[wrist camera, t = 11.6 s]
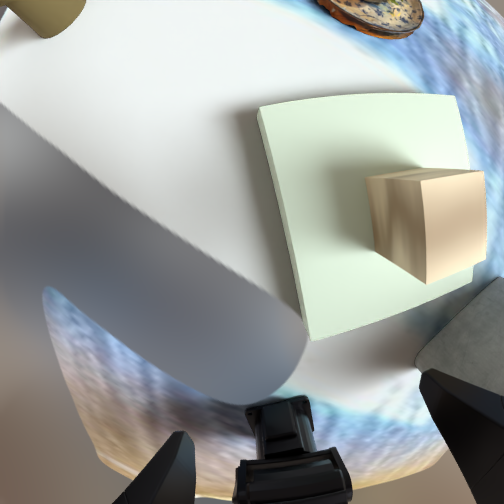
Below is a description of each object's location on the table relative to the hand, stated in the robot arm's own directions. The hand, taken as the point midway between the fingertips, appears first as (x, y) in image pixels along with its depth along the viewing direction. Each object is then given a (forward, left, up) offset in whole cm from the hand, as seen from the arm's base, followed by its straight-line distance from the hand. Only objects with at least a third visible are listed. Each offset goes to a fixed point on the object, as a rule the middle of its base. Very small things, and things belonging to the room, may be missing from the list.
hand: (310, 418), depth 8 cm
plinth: (+4, -10, -13) cm, 17 cm away
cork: (+31, +13, -13) cm, 36 cm away
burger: (+24, -15, -13) cm, 31 cm away
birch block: (+4, -10, -10) cm, 14 cm away
